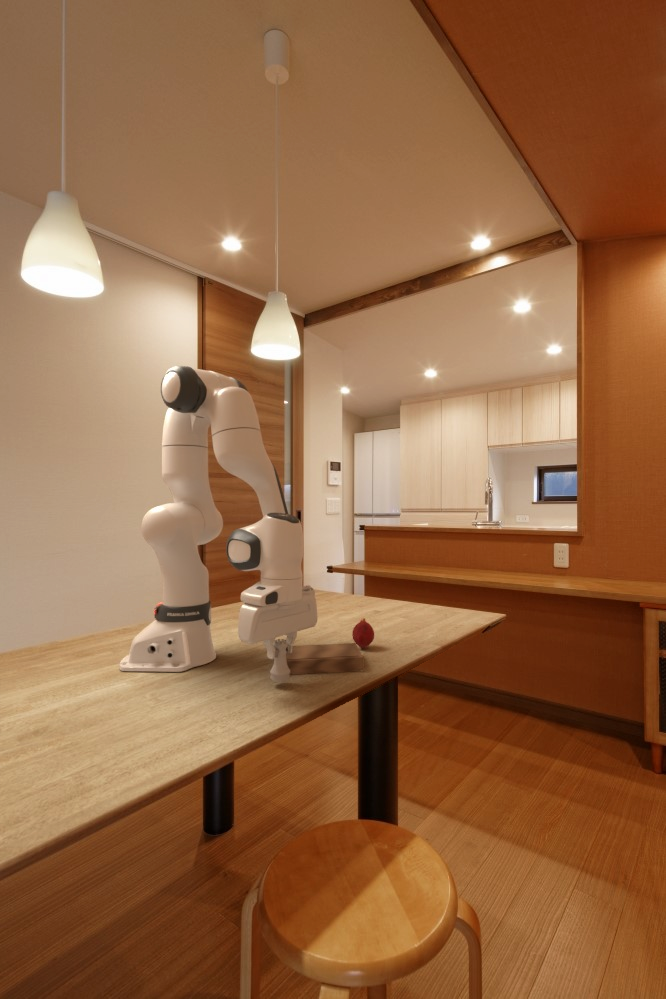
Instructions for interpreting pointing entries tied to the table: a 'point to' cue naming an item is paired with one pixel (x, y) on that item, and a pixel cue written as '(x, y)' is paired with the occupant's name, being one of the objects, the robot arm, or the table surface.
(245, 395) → the robot arm
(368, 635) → the onion
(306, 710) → the table surface
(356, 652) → the walnut board
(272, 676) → the rook chess piece
